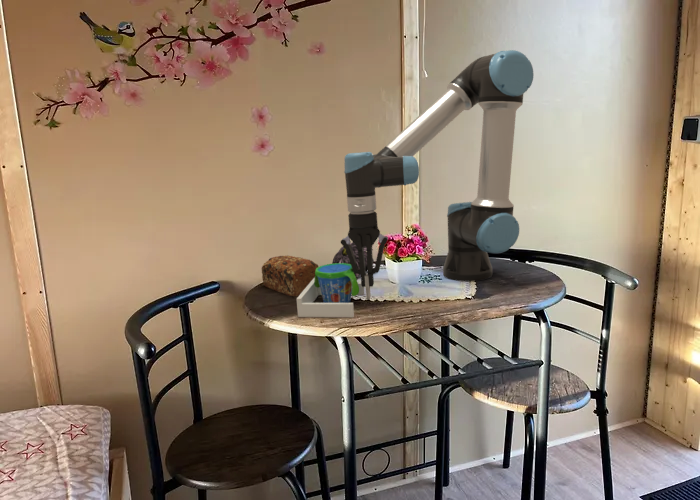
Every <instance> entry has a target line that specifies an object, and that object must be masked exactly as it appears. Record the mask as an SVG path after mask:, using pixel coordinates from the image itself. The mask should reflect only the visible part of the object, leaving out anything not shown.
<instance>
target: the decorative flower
mask: <svg viewBox="0 0 700 500" xmlns="http://www.w3.org/2000/svg"><path fill="white" fill-rule="evenodd" d="M350 245H351V248H352V250H353V253H354V256H355V259H356V262H357V264H358V267H359V268H360V266H359V256H358V250H357V246H356V245H355V244H354V243H353V242H352V241H351V243H350ZM372 251H374V249H373V248H372ZM364 258H365V268H366V273H368V268H367V250H366V247H365V246H364ZM334 263H346V264H350V261H349V258H348V255H347V252H346V250H345V248H344V246H343V245H342V246H341V247H340V249H339V250H338V251H337V252H336V253H335V255H334V256H333V259H332V261H331V264H334ZM373 263H374V259H373ZM354 274H355V273H354ZM355 276H356V279H357V280H358V279H359V277H360V275H359V274H355Z"/></svg>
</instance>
